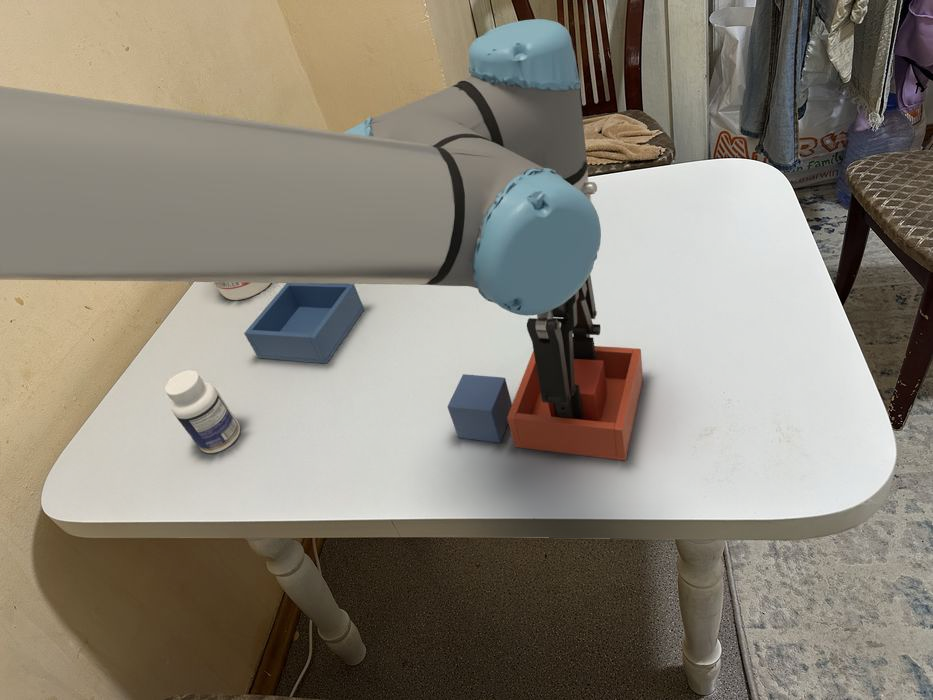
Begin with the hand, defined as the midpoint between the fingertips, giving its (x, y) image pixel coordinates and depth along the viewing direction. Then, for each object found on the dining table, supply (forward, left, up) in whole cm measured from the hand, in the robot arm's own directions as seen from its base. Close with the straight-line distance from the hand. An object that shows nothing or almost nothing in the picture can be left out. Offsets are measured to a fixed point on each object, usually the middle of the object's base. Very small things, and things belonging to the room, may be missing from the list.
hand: (579, 405), depth 71 cm
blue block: (-10, -3, -1) cm, 10 cm away
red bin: (0, 0, -1) cm, 1 cm away
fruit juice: (-60, +21, -1) cm, 64 cm away
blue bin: (-41, +10, -1) cm, 42 cm away
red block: (0, 0, 0) cm, 0 cm away
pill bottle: (-43, -10, -1) cm, 44 cm away
